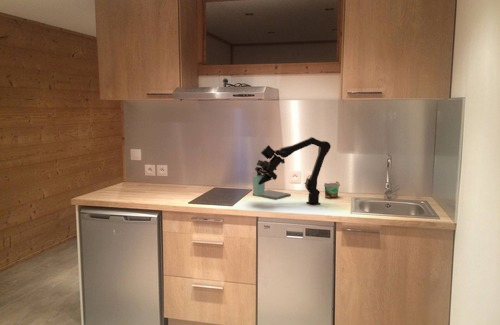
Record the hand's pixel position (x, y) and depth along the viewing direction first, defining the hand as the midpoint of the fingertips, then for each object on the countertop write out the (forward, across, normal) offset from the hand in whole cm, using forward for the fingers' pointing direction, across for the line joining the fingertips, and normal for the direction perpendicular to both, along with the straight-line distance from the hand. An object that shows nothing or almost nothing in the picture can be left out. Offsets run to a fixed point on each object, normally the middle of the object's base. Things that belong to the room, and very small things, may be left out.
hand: (256, 183), depth 226 cm
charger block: (+4, 0, +6) cm, 7 cm away
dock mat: (-6, -21, +25) cm, 34 cm away
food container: (-30, +2, +50) cm, 58 cm away
